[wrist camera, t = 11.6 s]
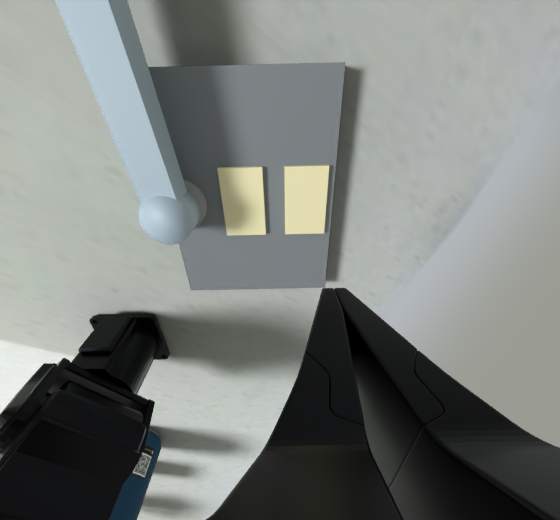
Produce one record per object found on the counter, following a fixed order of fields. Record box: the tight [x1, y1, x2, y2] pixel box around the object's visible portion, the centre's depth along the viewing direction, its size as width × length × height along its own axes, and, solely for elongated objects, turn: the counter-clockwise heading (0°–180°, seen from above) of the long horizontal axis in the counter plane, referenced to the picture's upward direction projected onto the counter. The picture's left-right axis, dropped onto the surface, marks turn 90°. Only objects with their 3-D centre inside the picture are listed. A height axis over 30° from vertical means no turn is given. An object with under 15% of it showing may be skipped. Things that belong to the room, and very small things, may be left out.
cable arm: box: [55, 0, 201, 244], centre depth 13 cm, size 16×3×2 cm, turn 7°
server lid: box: [148, 62, 345, 290], centre depth 19 cm, size 16×13×2 cm
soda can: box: [109, 428, 161, 520], centre depth 34 cm, size 7×7×12 cm
